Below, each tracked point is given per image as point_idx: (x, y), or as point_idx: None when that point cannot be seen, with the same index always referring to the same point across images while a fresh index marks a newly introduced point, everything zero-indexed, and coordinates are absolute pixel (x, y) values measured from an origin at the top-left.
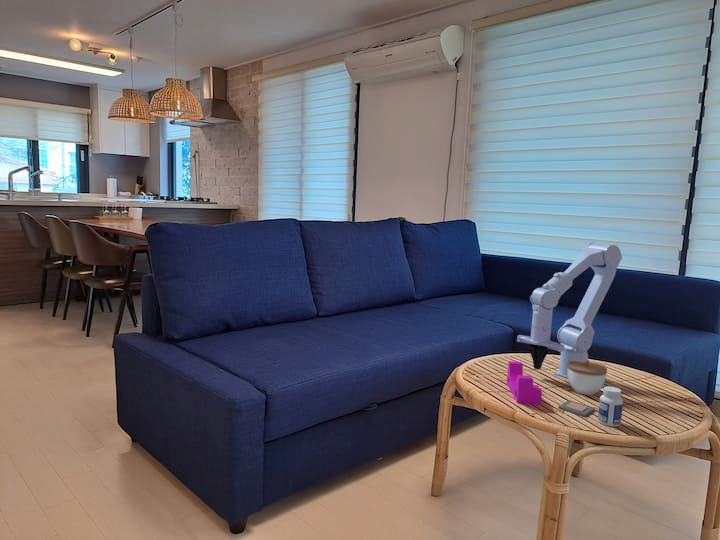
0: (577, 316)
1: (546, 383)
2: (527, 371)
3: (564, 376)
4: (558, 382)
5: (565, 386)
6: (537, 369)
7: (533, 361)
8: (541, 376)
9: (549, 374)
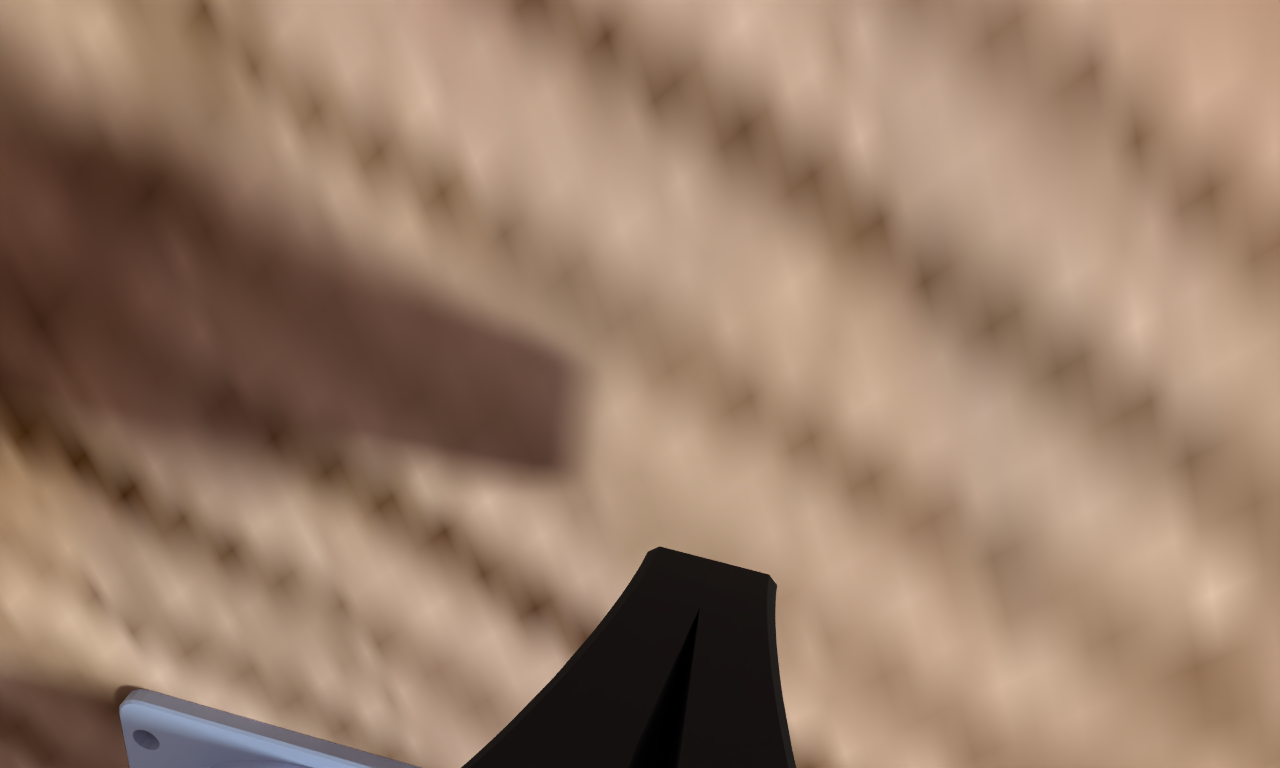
0: None
1: (415, 197)
2: (1028, 723)
3: (349, 753)
4: (276, 418)
5: (71, 265)
6: (668, 550)
7: (764, 721)
8: None
9: None
